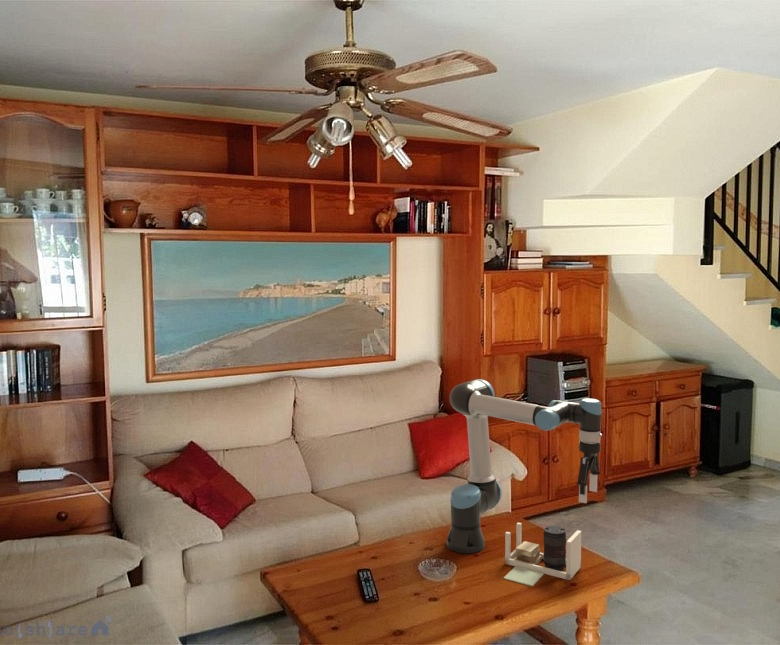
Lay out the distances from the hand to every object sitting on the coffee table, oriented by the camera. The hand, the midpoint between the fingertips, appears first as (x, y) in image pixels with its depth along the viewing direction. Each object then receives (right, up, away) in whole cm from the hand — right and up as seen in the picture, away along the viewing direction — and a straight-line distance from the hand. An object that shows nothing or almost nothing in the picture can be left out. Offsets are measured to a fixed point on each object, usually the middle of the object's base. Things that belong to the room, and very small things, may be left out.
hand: (588, 496), depth 260 cm
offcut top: (-22, -22, +4) cm, 31 cm away
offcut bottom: (-22, -26, +5) cm, 35 cm away
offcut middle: (-21, -24, +4) cm, 32 cm away
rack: (-17, -26, +1) cm, 31 cm away
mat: (-25, -27, -7) cm, 38 cm away
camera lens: (-13, -26, -1) cm, 29 cm away
